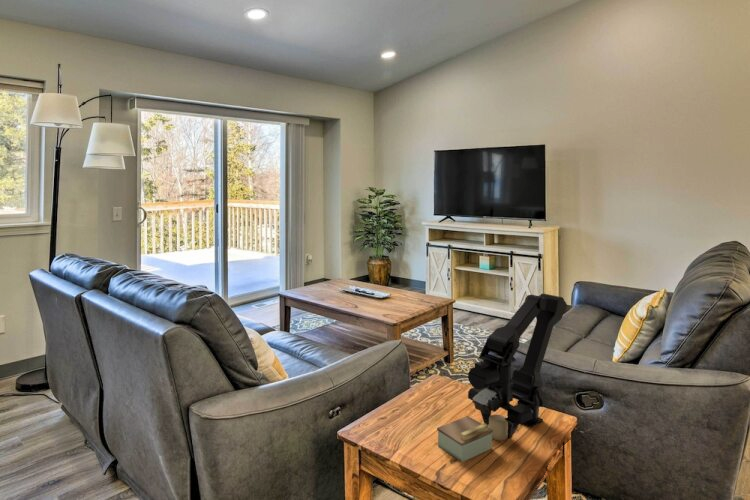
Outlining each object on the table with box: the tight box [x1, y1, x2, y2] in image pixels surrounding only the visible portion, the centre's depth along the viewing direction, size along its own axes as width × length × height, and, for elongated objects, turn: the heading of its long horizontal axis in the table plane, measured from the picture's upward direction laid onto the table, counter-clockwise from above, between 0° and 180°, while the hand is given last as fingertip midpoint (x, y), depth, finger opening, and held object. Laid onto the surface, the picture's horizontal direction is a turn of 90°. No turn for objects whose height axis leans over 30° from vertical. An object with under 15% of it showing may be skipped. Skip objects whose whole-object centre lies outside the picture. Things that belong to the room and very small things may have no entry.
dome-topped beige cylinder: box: [488, 414, 508, 441], centre depth 128 cm, size 5×5×5 cm
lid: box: [436, 415, 493, 446], centre depth 122 cm, size 12×9×2 cm
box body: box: [437, 430, 493, 463], centre depth 122 cm, size 11×9×4 cm
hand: (497, 431), depth 128 cm, fingers open, 8 cm apart
